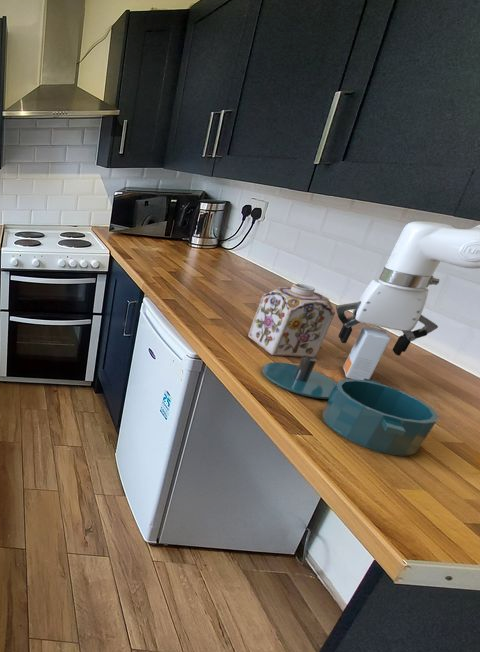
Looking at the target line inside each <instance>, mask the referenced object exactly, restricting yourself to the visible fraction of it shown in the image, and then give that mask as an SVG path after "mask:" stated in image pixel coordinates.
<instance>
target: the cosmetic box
mask: <svg viewBox="0 0 480 652" xmlns="http://www.w3.org/2000/svg"><path fill="white" fill-rule="evenodd" d="M390 340H391V337H390V336H389V333H387V331H386V330H385V329H381V328H376V327H371V326H366V325H363V326H362V327H361V329H360V331H359V333H358V335H357V338H356V339H355V342H354V343H353V346H352V348H351V350H350V352H349V354H348V356H347V358H346V360H345V362H344V364H343V366H342V369H343V370H344V375H345V377H346V378H347V379H357V380H364V378H365V379H369V380H371V378H372V376H373V374H374V372H375V370H376V368H377V366H378V364H379V362H380V360H381V359H382V357H383V355H384V354H385V353H384V352H385V351H386V349H387V347H388V345H389V343H390Z"/></svg>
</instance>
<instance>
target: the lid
mask: <svg viewBox="0 0 480 652" xmlns="http://www.w3.org/2000/svg"><path fill="white" fill-rule="evenodd" d="M317 360H318V359H316V357H314V358H313V357H310V356H303V357H301V358H300V362H299V364H298V365H297V364H294V363H293V364H292V363H289V362H288V363H287V362H269V363H266V364H264V365H262V369H261V372H262V374H263V375H264V376H265V377H266V378H267V380H269V381H270V382H272V383H273V384H275V385H277V386H279V387H280V388H283V389H285V390H287V391H290V392H292V393H295V394H298V395H300V396H301V395H302V396H305V397H309V398H313V399H321V400H329V398H330V396H331V394H332V392H333V390H334V388H335V386H336V384H337V383H338V382H336V381H334V380H333V379H331V378H330V377H328V376H327V375H325V374H322V373H321V372H318V371H315V370H314V368H315V366H316V363H317Z"/></svg>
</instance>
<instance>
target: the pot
mask: <svg viewBox="0 0 480 652" xmlns="http://www.w3.org/2000/svg"><path fill="white" fill-rule="evenodd" d="M336 383H337V384H336V386H335V388H334V390H333V392H332V394H331V396H330V398H329V399H327V402H326V403H325V406H324V408H323V410H322V414H321V416H322V419H323V421H324V423H325V424H326V425H327V426H328V427H329V428H330V429H331V430H332V431H334V432H335V433H337V434H338V435H340V436H342V437H343V438H345V439H346V440H348V441H350V442H352V443H354V444H356V445H359V446H361V447H364V448H367V449H369V450H371V451H375V452H378V453H382V454H386V455H390V456H399V457H408V456H409V457H410V456H413V455H415V454H416V453H418V450H419V449H420V447H421V446H422V445H423V443H424V441H425V439H426V438H427V437H428V435H429V434H430V432H431V431H432V429H433V427H434V426H435V424H436V423H437V421H438V420H439V418H440V416H439V415H438V413H437V411H436V410H435V409H434V408H433V407H432V406H430V405H429V404H427V403H426V402H424V401H423V400H422V399H420V398H417V397H415V396H413V395H412V394H409V393H407V392H405V391H404V390H403V391H402V390H400V389H398V388H394V387H391V386H389V385H386V384H381V382H380V381H377V380H373V379H370V380H369V379H365V378H364V380H357V379H350V378H347V379H340V380H339V381H338V382H336Z"/></svg>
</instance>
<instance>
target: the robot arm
mask: <svg viewBox="0 0 480 652" xmlns="http://www.w3.org/2000/svg"><path fill="white" fill-rule="evenodd" d="M440 262H442V263H445V264H449V265H452V266H456V267H460V268H464V269H475V270H476V269H480V224H478V225H476V226H473V227H471V228H469V229H466V228H465V229H464V228H455V227H454V226H452V225H450V224H447V223H441V222H435V221H434V222H433V221H423V220H422V221H421V220H417V221H410V222H408V223H407V224H405V226H404V227H403V229H402V231H401V233H400V234H399V237H398V239H397V241H396V243H395V245H394V247H393V248H392V250H391V253H390V255H389V257H388V259H387V261H386V263H385V265H384V267H383V269H382V271H381V273H380V275H379V277H378V278H374V279H372V280H371V281H370V283H369V284H368V285H367V287H366V288H365V289H364V291H363V292H362V294H361V295H360V297H359V299H358V301H357V302H350V303H343V304H338V305H336V306H335V310H336V314H337V317H338V320H339V321H340V322H341V323H342V327H341V329H340V330H339V333H338V336H337V337H338V339H339V340H340V343H341V344H346V343H348V340H349V338H350V336H351V334H352V331H353V328H352V327H354V326H356V325H359V324H361V323H362V324H365V325H369V326H375V327H379V328H384V329H389V330H395V331H400V332H402V333H403V334H402V335H399V337H398V338H397V340H396V341H395V344H394V346H393V348H392V352H393V353H394V354H395V355H396V356H399V357H400V356H401V355H402V354H403V353H405V352H407V349H408V347H409V346H410V344H411V342H414V341H416V340H417V339H421V338H422V337H423V338H424V337H426V336H427V335H428V334H430V333H431V332H433V331H435V330H437V329H438V328H439V325H437V324H436V323H435V322H434V321H432V320H430V319H429V318H428V317H426V316H425V315H423V314H422V313H423V310H424V308H425V305H426V302H427V299H428V296H429V289H428V287H429V286H432V285H433V286H434V285H435V286H437V285H438V284H439V283H440V278H436V277H434V273H435V272H436V270H437V269H438V266H439V264H440ZM351 310H353V311H352V316H349V317H347V316H346V314H345V312H346V311H351ZM418 322H420V323H421V324H422V325H424V326H422V327H420V328H417V329H416V330H413V329H415V327H416V326H417V324H418Z"/></svg>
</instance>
